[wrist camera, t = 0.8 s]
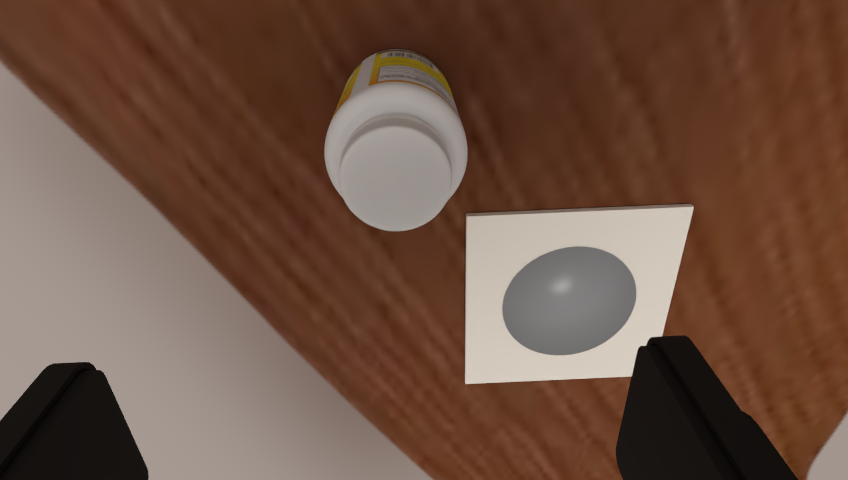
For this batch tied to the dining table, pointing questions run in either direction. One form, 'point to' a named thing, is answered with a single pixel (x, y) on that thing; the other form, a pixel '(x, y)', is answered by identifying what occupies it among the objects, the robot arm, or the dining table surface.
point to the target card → (568, 289)
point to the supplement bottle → (396, 141)
